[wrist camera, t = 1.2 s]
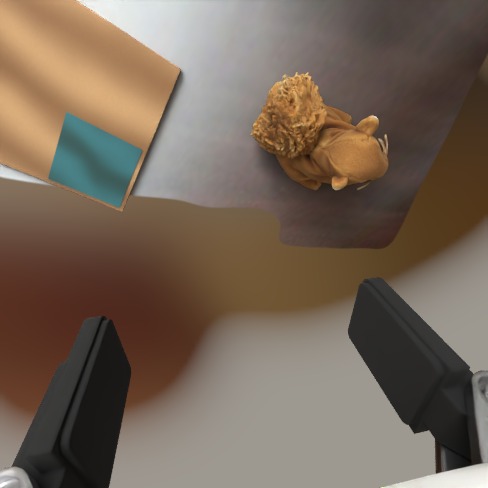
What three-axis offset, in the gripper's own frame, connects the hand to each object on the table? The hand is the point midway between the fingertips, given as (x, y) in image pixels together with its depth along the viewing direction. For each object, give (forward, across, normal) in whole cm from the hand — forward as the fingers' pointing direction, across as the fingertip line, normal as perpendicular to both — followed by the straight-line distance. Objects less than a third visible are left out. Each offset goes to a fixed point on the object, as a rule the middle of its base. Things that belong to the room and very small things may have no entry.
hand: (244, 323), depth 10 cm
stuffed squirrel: (+28, -12, -2) cm, 30 cm away
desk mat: (+27, +15, -7) cm, 32 cm away
